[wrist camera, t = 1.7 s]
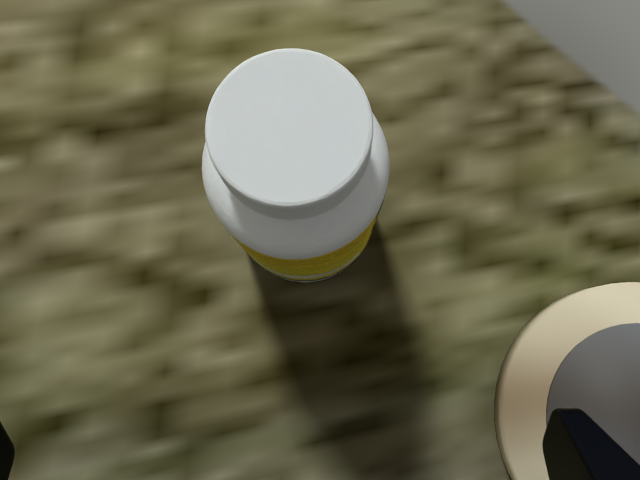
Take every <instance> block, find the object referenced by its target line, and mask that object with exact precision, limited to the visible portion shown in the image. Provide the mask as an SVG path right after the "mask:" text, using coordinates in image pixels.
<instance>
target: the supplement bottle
mask: <svg viewBox="0 0 640 480" xmlns="http://www.w3.org/2000/svg"><path fill="white" fill-rule="evenodd" d="M205 138H206V142H205V146H204V151H203V158H202V175H203V183H204V187H205V191H206V194H207V197H208V200H209V202H210V205H211V207H212V209H213V211H214V212H215V214H216V216H217V217H218V219H219V220H220V222H221V223H222V225H223V226H224V227H225V228H226V230H227V231H228V232H229V233H230V234H231V235H232V236H233V237H234V238H235V240H236V241H237V242H238V243H239V244H240V245H241V246H242V247H243V248H244V250H245V251H246V252H247V253H248V254H249V255H250V256H251V257H252V258H253V260H254V261H255V262H257V263H258V264H259V265H260V266H261V267H263V268H264V269H265V270H267V271H268V272H270V273H272V274H273V275H275V276H278V277H280V278H283V279H286V280H290V281H296V282H314V281H320V280H324V279H327V278H329V277H332V276H334V275H336V274H338V273H340V272H341V271H343V270H345V269H346V268H347V267H349V266H350V265H351V264H352V263H353V262H354V261H355V260H356V259H357V258H358V257H359V255H360V254H361V253H362V252H363V250H364V248H365V246H366V245H367V243H368V241H369V238H370V235H371V233H372V230H373V228H374V225H375V222H376V219H377V216H378V214H379V211H380V209H381V207H382V204H383V201H384V197H385V194H386V189H387V185H388V179H389V167H390V166H389V153H388V147H387V143H386V140H385V136H384V134H383V131H382V129H381V127H380V125H379V123H378V121H377V120H376V118H375V116H374V115H373V113H372V111H371V107H370V104H369V101H368V99H367V96H366V94H365V92H364V90H363V88H362V87H361V85H360V84H359V82H358V81H357V79H356V78H355V77H354V76H353V75H352V74H351V73H350V72H349V71H348V70H347V69H346V68H345V67H343V66H342V65H341V64H339V63H338V62H336V61H335V60H333V59H331V58H329V57H327V56H325V55H323V54H320V53H317V52H313V51H310V50H304V49H277V50H273V51H268V52H265V53H262V54H259V55H256V56H254V57H252V58H250V59H248V60H246V61H244V62H243V63H241V64H240V65H239V66H237V67H236V68H235V69H234V70H232V71H231V72H230V73H229V74H228V75H227V77H226V78H225V79H224V80H223V81H222V82H221V84H220V85H219V87H218V88H217V89H216V91H215V93H214V95H213V97H212V99H211V102H210V105H209V108H208V111H207V115H206V124H205Z"/></svg>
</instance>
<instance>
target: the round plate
mask: <svg viewBox="0 0 640 480" xmlns="http://www.w3.org/2000/svg"><path fill="white" fill-rule="evenodd" d="M556 408H579V409H581V410H583V411H584V412H586V413H587V414H588V415H589V416H590V417H591V418H592V419H593V420H594V421H595V422H596V423H597V424H598V425H599V426H600V427H601V428H602V429H603V430H604V431H605V432H606V433H607V434H608V435H609V436H610V437H611V438H612V439H613V440H615V441H616V442H617V443H618V444H619V445H620V446H621V447H622V448H623V449H624V450H625V451H626V452H627V453H628V454H629V455H630V456H631V457H632V458H633V459H634V460H635V461H636V462H637V463H638V464H639V465H640V283H638V282H625V283H613V284H607V285H602V286H597V287H593V288H588V289H583V290H580V291H577V292H574V293H571V294H569V295H566V296H564V297H562V298H560V299H558V300H556V301H555V302H553V303H551V304H549V305H548V306H547V307H545V308H544V309H543V310H541V311H540V312H538V313H537V314H536V315H535V316H534V317H533V318H532V319H531V320H530V321H529V322H528V323H527V324H526V325H525V326H524V327H523V329H522V330H521V331H520V332H519V334H518V335H517V336H516V338H515V339H514V341H513V343H512V345H511V346H510V348H509V350H508V351H507V354H506V356H505V358H504V361H503V363H502V366H501V369H500V372H499V376H498V380H497V384H496V391H495V399H494V422H495V429H496V437H497V441H498V445H499V449H500V453H501V456H502V459H503V461H504V464H505V466H506V469H507V471H508V474H509V476H510V477H511V479H512V480H549V477H548V472H547V468H546V463H545V459H544V454H543V447H542V443H543V437H544V434H545V431H546V428H547V425H548V422H549V419H550V416H551V413H552V411H553V410H554V409H556Z"/></svg>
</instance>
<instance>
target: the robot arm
mask: <svg viewBox="0 0 640 480" xmlns="http://www.w3.org/2000/svg"><path fill="white" fill-rule="evenodd" d="M542 447H543V454H544V459H545V463H546V468H547V472H548V477H549V480H640V465H639V464H638V463H637V462H636V461H635V460H634V459H633V458H632V457H631V456H630V455H629V454H628V453H627V452H626V451H625V450H624V449H623V448H622V447H621V446H620V445H619V444H618V443H617V442H616V441H615V440H613V439H612V438H611V437H610V436H609V435H608V434H607V433H606V432H605V431H604V430H603V429H602V428H601V427H600V426H599V425H598V424H597V423H596V422H595V421H594V420H593V419H592V418H591V417H590V416H589V415H588V414H587V413H586V412H584V411H583V410H581V409H579V408H556V409H554V410H553V411H552V413H551V416H550V419H549V422H548V425H547V428H546V431H545V434H544V437H543V443H542ZM14 455H15V450H14V445H13V443H12V441H11V439H10V438H9V436H8V434H7V432H6V431H5V429H4V427H3V425H2V424H1V422H0V480H8V478H9V475H10V471H11V468H12V465H13V461H14Z"/></svg>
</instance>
